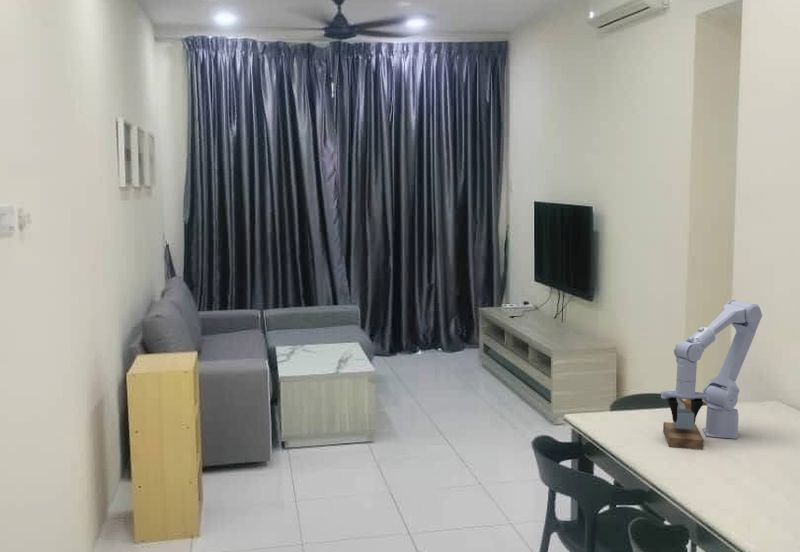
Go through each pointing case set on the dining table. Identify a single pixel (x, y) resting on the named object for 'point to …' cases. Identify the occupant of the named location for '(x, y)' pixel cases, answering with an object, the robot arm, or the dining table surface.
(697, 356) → the robot arm
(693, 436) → the plinth
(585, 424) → the dining table surface
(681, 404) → the tin
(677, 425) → the block
